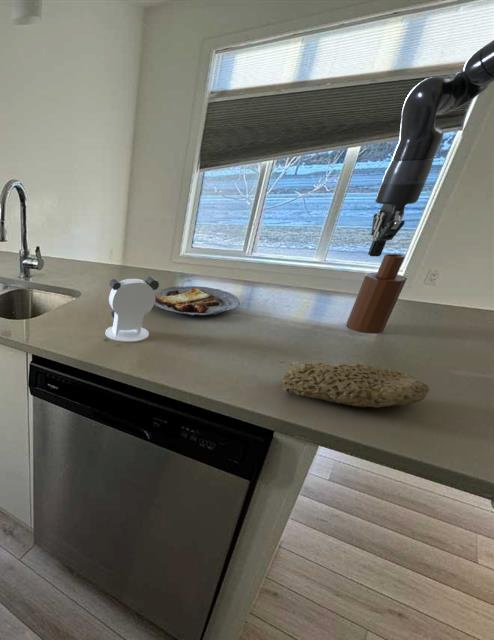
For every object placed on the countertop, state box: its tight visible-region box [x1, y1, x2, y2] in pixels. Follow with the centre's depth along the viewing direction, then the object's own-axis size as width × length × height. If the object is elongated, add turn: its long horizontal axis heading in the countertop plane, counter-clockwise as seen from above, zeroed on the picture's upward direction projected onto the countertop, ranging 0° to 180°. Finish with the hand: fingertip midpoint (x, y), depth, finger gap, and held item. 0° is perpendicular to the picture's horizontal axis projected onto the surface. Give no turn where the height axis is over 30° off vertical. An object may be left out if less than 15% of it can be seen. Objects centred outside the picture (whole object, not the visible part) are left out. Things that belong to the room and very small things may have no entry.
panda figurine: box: [104, 276, 160, 343], centre depth 107 cm, size 12×11×15 cm
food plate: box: [154, 285, 241, 317], centre depth 123 cm, size 25×23×4 cm
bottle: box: [345, 253, 408, 334], centre depth 97 cm, size 7×7×18 cm
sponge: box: [281, 361, 430, 408], centre depth 75 cm, size 13×8×20 cm
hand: (373, 255), depth 103 cm, fingers closed
